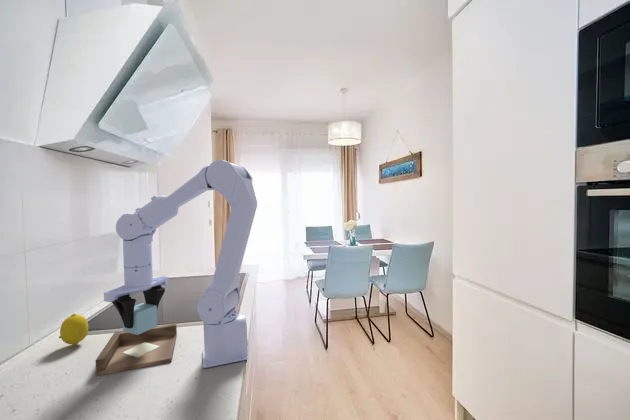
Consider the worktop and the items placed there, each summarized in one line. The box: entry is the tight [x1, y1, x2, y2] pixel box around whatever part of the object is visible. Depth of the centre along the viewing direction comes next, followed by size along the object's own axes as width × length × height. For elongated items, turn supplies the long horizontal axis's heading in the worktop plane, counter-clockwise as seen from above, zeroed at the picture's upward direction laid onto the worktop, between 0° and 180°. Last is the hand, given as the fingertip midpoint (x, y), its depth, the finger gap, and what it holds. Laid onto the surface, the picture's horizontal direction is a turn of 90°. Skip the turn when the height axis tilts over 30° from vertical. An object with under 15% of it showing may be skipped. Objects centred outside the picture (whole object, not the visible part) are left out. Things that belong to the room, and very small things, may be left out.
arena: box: [95, 323, 178, 377], centre depth 70 cm, size 14×14×3 cm
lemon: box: [59, 313, 89, 346], centre depth 75 cm, size 6×6×8 cm
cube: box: [122, 302, 158, 335], centre depth 70 cm, size 5×5×5 cm
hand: (140, 322), depth 70 cm, fingers closed on cube, 5 cm apart
